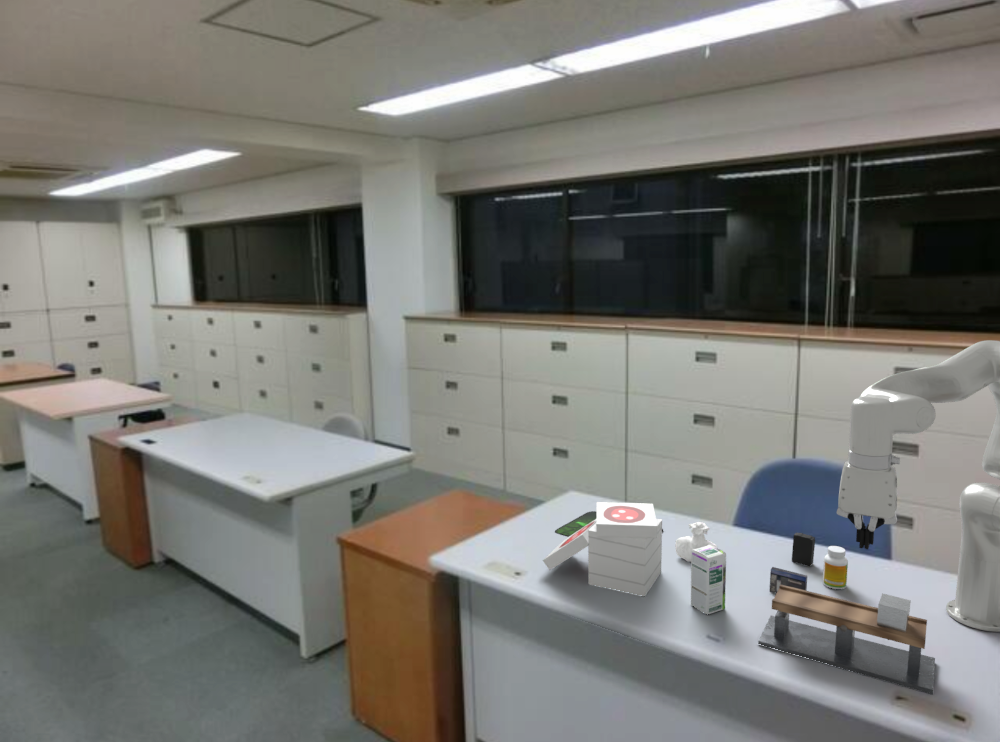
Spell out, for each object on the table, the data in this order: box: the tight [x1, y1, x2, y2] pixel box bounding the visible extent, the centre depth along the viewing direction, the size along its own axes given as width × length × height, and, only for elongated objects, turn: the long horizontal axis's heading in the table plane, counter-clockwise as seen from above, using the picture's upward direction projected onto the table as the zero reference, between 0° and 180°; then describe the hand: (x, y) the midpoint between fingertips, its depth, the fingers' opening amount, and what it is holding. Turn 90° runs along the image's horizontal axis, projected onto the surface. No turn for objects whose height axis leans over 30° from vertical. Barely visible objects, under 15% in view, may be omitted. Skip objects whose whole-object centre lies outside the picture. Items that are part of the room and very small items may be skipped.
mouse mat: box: [554, 510, 664, 538], centre depth 208 cm, size 27×22×1 cm
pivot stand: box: [757, 610, 936, 695], centre depth 143 cm, size 32×12×8 cm, turn 57°
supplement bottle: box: [822, 545, 849, 590], centre depth 171 cm, size 5×5×10 cm
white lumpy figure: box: [675, 521, 719, 563], centre depth 188 cm, size 12×8×11 cm
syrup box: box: [690, 545, 727, 616], centre depth 162 cm, size 6×6×14 cm
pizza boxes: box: [542, 501, 663, 597], centre depth 179 cm, size 19×30×18 cm, turn 61°
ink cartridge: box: [791, 532, 816, 567], centre depth 183 cm, size 5×2×8 cm, turn 47°
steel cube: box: [877, 593, 912, 632], centre depth 136 cm, size 5×5×5 cm
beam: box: [771, 584, 928, 650], centre depth 142 cm, size 28×9×3 cm, turn 57°
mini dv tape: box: [769, 566, 808, 594], centre depth 167 cm, size 8×2×6 cm, turn 53°
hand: (864, 546), depth 138 cm, fingers closed
